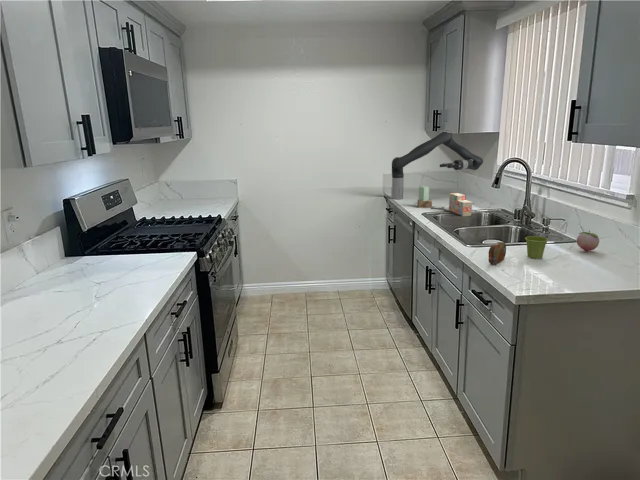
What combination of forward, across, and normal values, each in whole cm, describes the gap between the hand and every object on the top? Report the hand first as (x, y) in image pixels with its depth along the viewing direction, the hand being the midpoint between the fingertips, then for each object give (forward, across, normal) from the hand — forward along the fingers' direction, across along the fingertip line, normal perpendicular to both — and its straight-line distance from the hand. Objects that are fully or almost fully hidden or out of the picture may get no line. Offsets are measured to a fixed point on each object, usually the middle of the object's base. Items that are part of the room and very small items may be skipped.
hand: (443, 166), depth 327 cm
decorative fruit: (+29, +133, +28) cm, 139 cm away
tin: (+76, +123, +28) cm, 147 cm away
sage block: (+20, +2, +23) cm, 31 cm away
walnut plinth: (+19, +3, +28) cm, 34 cm away
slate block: (+12, -6, +28) cm, 31 cm away
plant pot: (+57, +127, +28) cm, 142 cm away
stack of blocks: (+14, +34, +28) cm, 46 cm away
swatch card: (+15, +13, +28) cm, 35 cm away
